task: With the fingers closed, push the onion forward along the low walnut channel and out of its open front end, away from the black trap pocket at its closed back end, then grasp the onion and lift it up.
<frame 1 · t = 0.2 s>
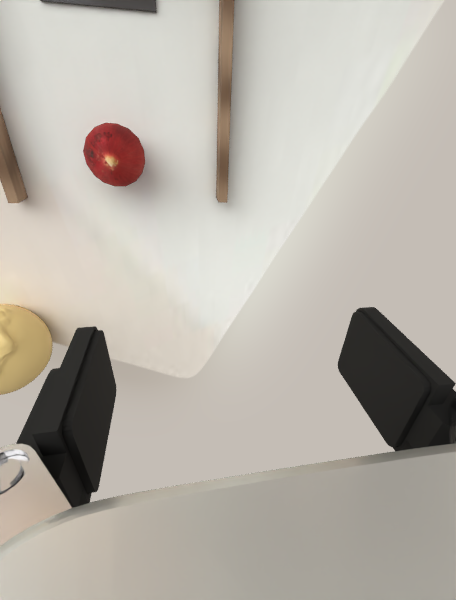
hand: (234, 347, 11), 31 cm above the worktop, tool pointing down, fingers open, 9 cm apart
wooden u-shaped frame: (110, 80, 30), on the worktop
onion: (120, 151, 34), on the worktop
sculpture: (14, 325, 43), on the worktop
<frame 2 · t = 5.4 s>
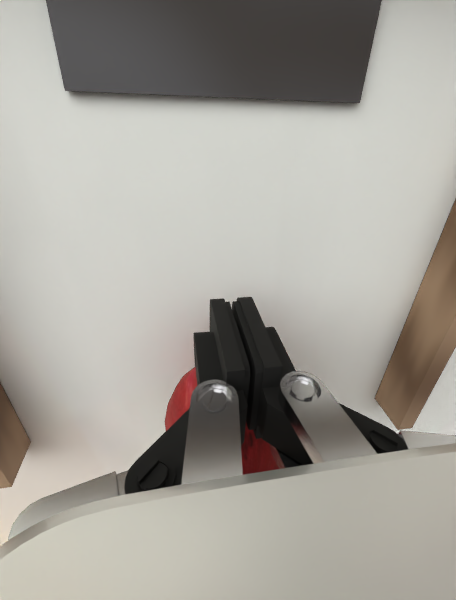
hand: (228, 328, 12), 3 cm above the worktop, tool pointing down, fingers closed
wooden u-shaped frame: (220, 248, 13), on the worktop
onion: (218, 362, 17), on the worktop, touching gripper
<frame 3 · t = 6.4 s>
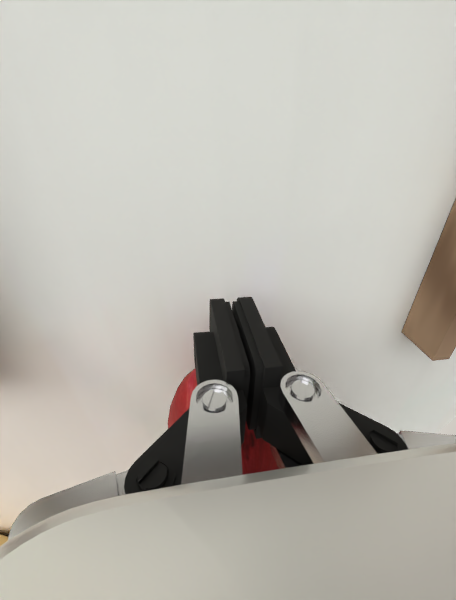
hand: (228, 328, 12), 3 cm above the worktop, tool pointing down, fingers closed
wooden u-shaped frame: (222, 87, 10), on the worktop
onion: (221, 362, 17), on the worktop, touching gripper
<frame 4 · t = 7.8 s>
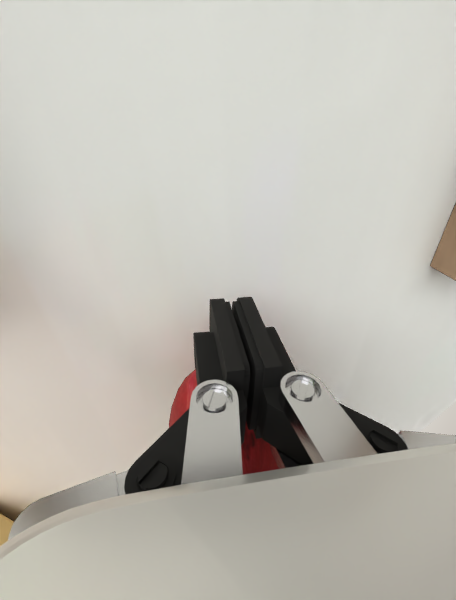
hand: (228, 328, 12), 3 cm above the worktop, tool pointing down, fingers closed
onion: (222, 362, 17), on the worktop, touching gripper
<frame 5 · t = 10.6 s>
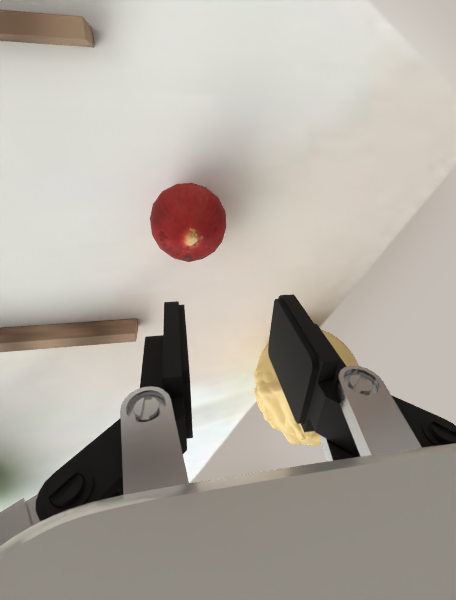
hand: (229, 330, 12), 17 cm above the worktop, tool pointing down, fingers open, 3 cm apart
onion: (186, 209, 27), on the worktop
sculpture: (290, 352, 38), on the worktop
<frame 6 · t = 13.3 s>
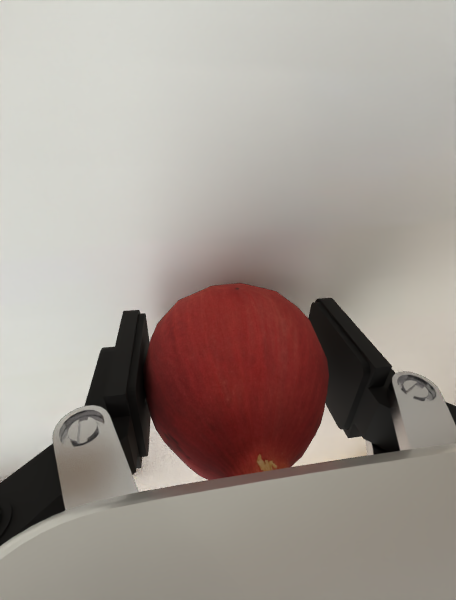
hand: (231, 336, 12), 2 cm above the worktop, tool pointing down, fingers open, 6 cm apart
onion: (218, 307, 13), on the worktop, touching gripper
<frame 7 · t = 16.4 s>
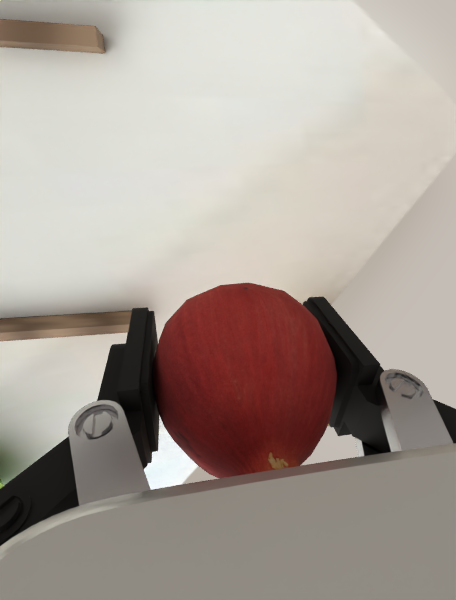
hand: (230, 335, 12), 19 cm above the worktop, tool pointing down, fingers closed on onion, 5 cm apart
onion: (224, 307, 13), point 17 cm above the worktop, touching gripper
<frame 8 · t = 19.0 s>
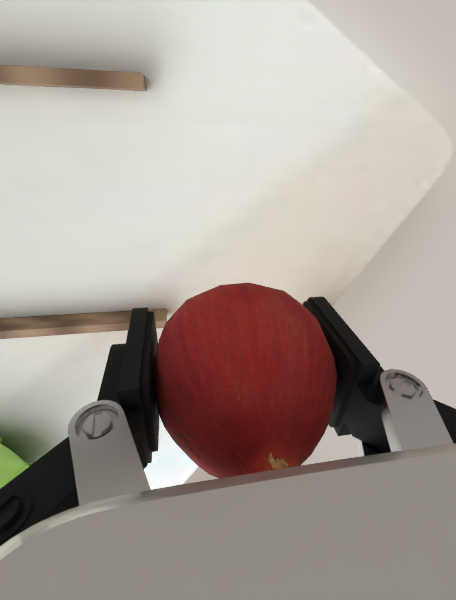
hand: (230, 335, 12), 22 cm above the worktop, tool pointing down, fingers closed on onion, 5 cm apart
wooden u-shaped frame: (37, 221, 29), on the worktop
onion: (224, 307, 13), point 21 cm above the worktop, touching gripper
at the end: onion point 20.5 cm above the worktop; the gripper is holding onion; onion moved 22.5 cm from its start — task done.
